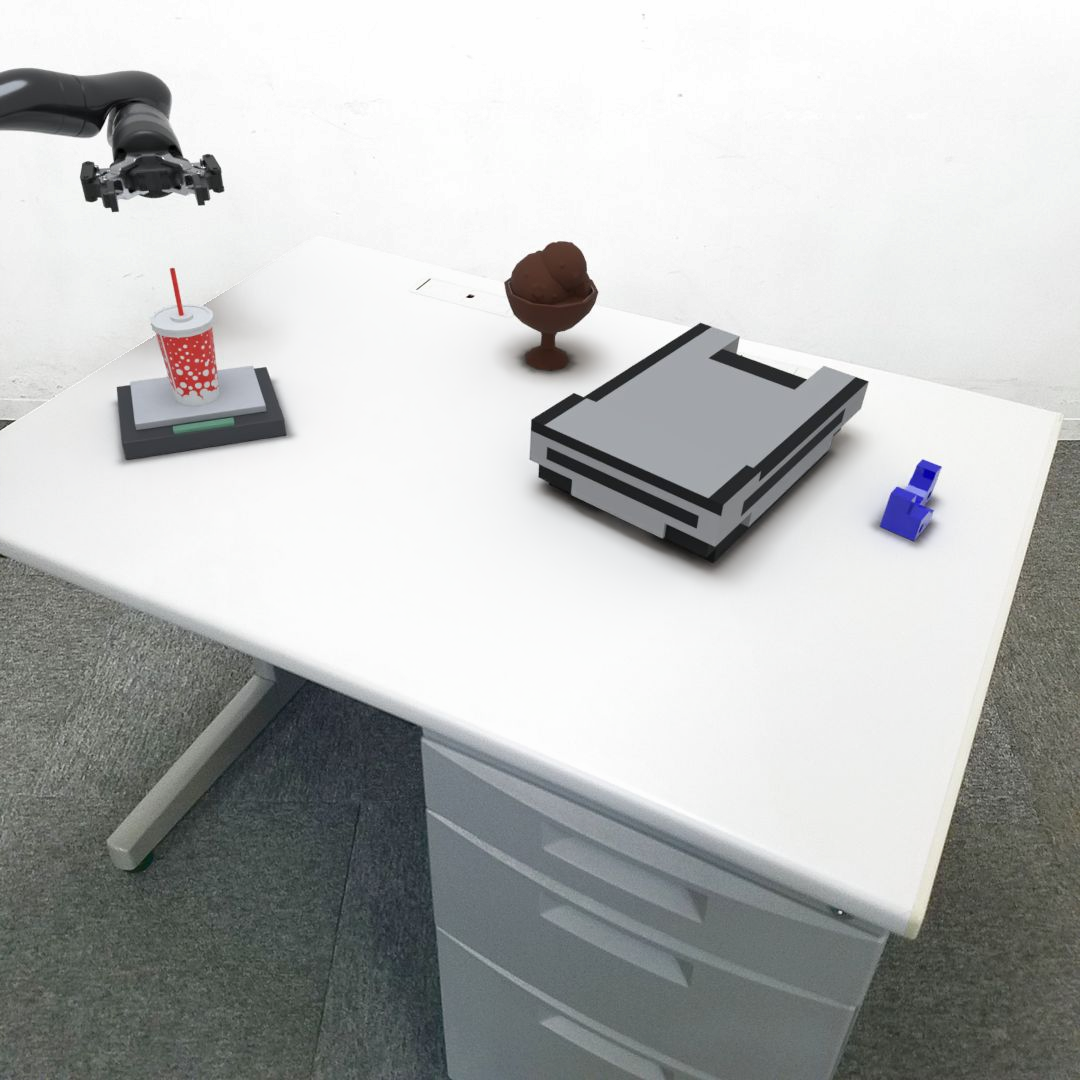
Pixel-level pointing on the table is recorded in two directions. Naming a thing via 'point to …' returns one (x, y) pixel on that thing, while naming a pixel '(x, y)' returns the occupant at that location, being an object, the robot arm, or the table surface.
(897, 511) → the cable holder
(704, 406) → the game console
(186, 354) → the beverage cup
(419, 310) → the table surface
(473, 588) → the table surface
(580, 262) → the ice cream bowl
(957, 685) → the table surface
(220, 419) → the scale
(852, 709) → the table surface
